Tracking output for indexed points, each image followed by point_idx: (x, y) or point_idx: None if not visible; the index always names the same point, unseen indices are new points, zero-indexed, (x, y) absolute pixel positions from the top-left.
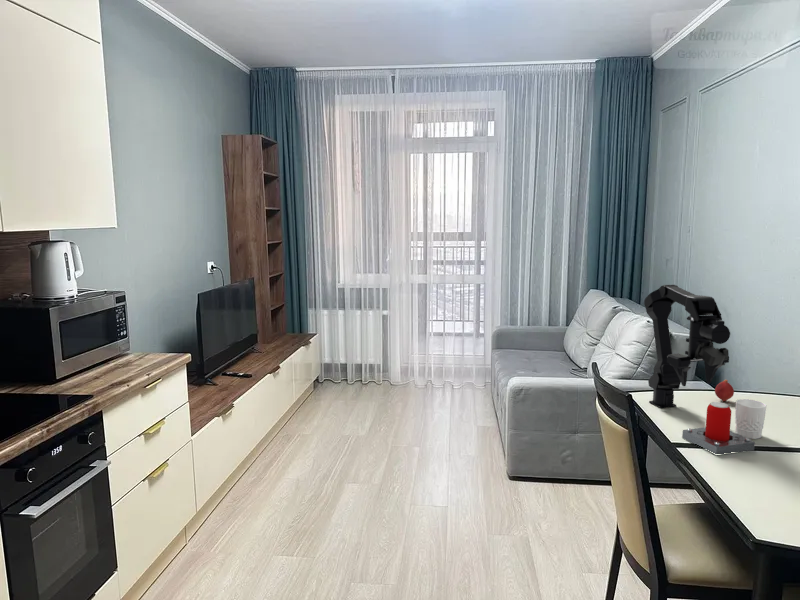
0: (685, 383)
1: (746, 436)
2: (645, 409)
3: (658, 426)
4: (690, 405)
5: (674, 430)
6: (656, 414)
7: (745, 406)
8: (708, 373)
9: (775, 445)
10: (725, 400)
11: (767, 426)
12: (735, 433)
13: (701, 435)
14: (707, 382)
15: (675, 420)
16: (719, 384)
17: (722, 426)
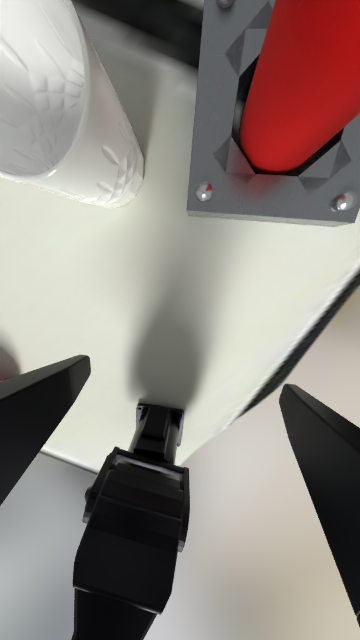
0: (304, 396)
1: (135, 137)
2: (224, 420)
3: (305, 328)
4: (100, 395)
5: (292, 286)
6: (228, 389)
7: (79, 19)
8: (31, 424)
9: (92, 32)
10: (2, 380)
11: (5, 204)
12: (199, 106)
13: (350, 139)
14: (88, 370)
15: (219, 341)
16: None
17: None
